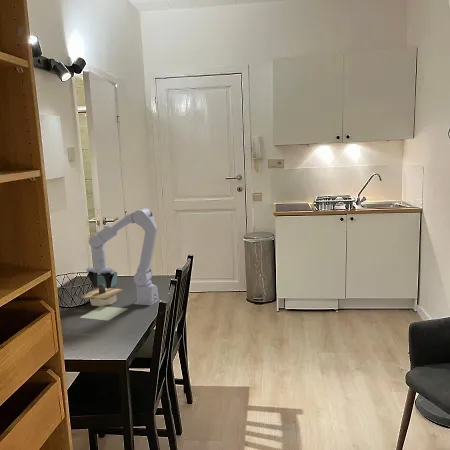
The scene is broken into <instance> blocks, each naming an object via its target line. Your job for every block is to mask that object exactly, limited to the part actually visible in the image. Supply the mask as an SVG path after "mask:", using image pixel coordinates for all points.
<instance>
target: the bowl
mask: <svg viewBox="0 0 450 450" xmlns="http://www.w3.org/2000/svg"><path fill="white" fill-rule="evenodd" d="M116 302H118V299H117V295H115V296H113V297H111V298H109V299H107V300H100V299H89V303H90V305H91V306H94V307H100V306H105V307H106V306H109V305H112V304H114V303H116Z"/></svg>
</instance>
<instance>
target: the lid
mask: <svg viewBox="0 0 450 450" xmlns="http://www.w3.org/2000/svg"><path fill="white" fill-rule="evenodd" d="M98 287H99V288H98ZM98 287H96V288H94V289H93V290H91V291H89V292H87V293H85V294H82V295H81V296H80V298H81V299H86V300H87V299H88V300H90V299H100V300H107V299H109V298H111V297H113V296H115V295H116V296H117V295H119V294H120V293H122V292H124V289H123V288H115V289H113V288H109V289H107V288H105V284H99V285H98Z"/></svg>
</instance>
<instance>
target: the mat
mask: <svg viewBox="0 0 450 450" xmlns="http://www.w3.org/2000/svg"><path fill="white" fill-rule="evenodd" d="M127 310H128V308H124V307H115V306H114V307H112V306H106V305H105V306H97V308H95V309H93V310H91V311H89V312H86V313H85V314H83V315H81V316H80V317H79V318H81V319H88V320H89V319H90V320H98V321H99V320H101V321H110V320H112V319H114V318H115V317H117V316H119V315H120V314H121V313H124V312H125V311H127Z"/></svg>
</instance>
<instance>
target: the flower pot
mask: <svg viewBox="0 0 450 450" xmlns="http://www.w3.org/2000/svg"><path fill="white" fill-rule="evenodd" d="M105 274H106V273H98V275H97V284H98V285H99V284H105V288H107V287H106V281H105V278H104V275H105ZM117 283H118V271H115V273H114V276H113V278H112V282H111V288H113V289H116V287H117ZM98 285H97V287H96V288H99V287H98Z"/></svg>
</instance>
